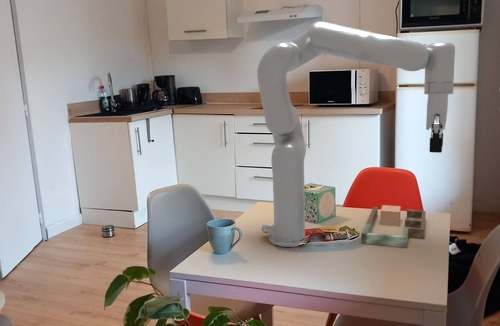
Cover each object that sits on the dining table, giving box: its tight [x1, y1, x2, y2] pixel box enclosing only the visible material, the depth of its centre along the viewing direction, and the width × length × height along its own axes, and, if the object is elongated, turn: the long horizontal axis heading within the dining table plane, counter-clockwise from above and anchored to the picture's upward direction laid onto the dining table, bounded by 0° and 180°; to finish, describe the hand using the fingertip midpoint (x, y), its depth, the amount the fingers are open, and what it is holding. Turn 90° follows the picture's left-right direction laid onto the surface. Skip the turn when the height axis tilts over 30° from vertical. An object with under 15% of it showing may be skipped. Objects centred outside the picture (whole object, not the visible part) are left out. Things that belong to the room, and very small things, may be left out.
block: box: [379, 204, 401, 227], centre depth 165 cm, size 6×7×5 cm
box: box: [360, 206, 426, 248], centre depth 157 cm, size 18×30×3 cm, turn 159°
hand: (436, 149), depth 139 cm, fingers open, 9 cm apart
